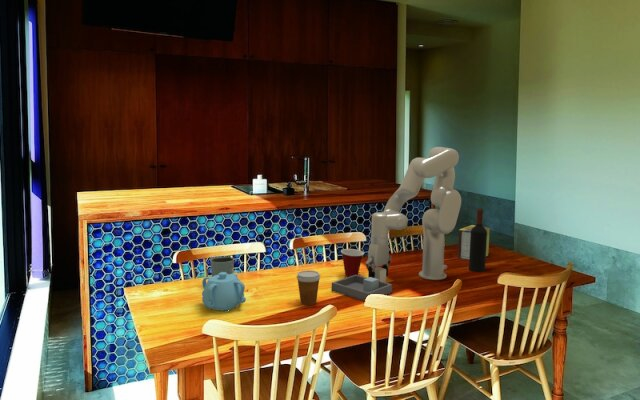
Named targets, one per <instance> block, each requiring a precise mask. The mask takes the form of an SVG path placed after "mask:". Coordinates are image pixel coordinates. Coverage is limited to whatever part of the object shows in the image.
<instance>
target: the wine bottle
mask: <svg viewBox="0 0 640 400" xmlns="http://www.w3.org/2000/svg"><path fill="white" fill-rule="evenodd" d="M483 218H484V209H483V208H477V209H476V220H475V221H476V222H475V223H476V224H475V227H473V228H472V229H471V236H470V256H469V260H468V270H469V271H470V272H472V273H473V272H475V273H483V272H485V271H486V260H487V256H486V243H487V230H486V229H485V228H484V227H485V226H483V221H484V219H483Z"/></svg>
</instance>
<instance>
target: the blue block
mask: <svg viewBox="0 0 640 400" xmlns="http://www.w3.org/2000/svg"><path fill="white" fill-rule="evenodd" d="M378 287H379V279H376V278H372V277H369V278H368V277H366V279H363V291H365V292H371V291H373V290H376V289H378Z"/></svg>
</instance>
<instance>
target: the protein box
mask: <svg viewBox="0 0 640 400" xmlns="http://www.w3.org/2000/svg"><path fill="white" fill-rule="evenodd" d="M475 226H476V224H475V225H474V224H471V225H468V226H464V227H463V228H460V229H458V242H457V243H458V244H457V245H458V247H457V248H458V249H457V258H458V259H462V260H467V261H469V256H470V236H471V229H472V228H473V227H475ZM483 227H484V228H485V229H486V230H487V243H486V257H488V256H489V249H490V248H489V247H490V229H491V228H490V227H488V226H483Z"/></svg>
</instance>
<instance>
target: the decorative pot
mask: <svg viewBox="0 0 640 400" xmlns="http://www.w3.org/2000/svg"><path fill="white" fill-rule="evenodd" d="M201 284H202V287H203V291H202V292H201V295H202V299H201V302H202V303H203V304H202V305H204V306H205V307H206V308H208V309H209V308H210V310H216V311H222V312H225V311H226V312H229V311H230V310H232V309H234V308H237V307H238V306H240V305H241V304H244V303H245V302H246V300H247V298H246V296H245V289H246V288H245V284H244V283H243V282H242V281H241V280H240V279H239V277H238V275H237V274H236V273H233V274H227V273H226V272H221V273H219V275H215V276H213V277H212V276H206V277H204V278H203V279H202V283H201ZM228 310H229V311H228Z"/></svg>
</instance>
